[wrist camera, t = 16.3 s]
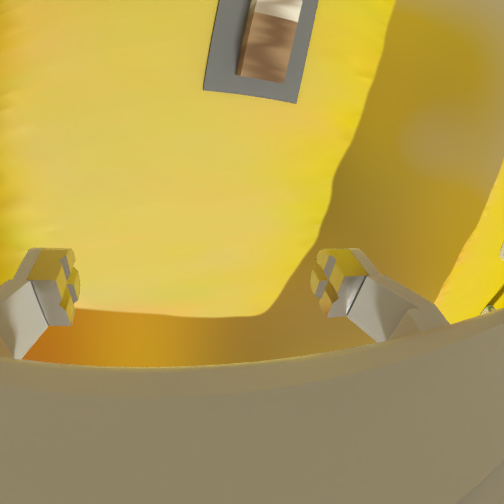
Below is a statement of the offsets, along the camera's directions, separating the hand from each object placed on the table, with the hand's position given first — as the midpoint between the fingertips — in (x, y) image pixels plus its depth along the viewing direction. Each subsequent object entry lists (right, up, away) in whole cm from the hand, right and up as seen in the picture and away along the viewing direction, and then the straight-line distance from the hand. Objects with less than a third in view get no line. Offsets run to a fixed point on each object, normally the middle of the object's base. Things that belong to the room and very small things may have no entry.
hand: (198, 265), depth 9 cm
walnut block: (+2, +21, +21) cm, 30 cm away
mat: (+3, +28, +19) cm, 34 cm away
